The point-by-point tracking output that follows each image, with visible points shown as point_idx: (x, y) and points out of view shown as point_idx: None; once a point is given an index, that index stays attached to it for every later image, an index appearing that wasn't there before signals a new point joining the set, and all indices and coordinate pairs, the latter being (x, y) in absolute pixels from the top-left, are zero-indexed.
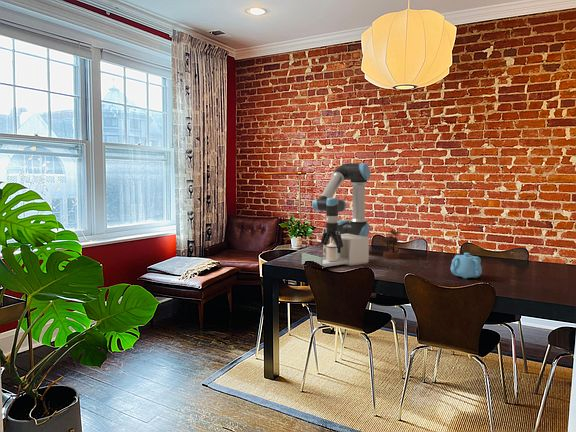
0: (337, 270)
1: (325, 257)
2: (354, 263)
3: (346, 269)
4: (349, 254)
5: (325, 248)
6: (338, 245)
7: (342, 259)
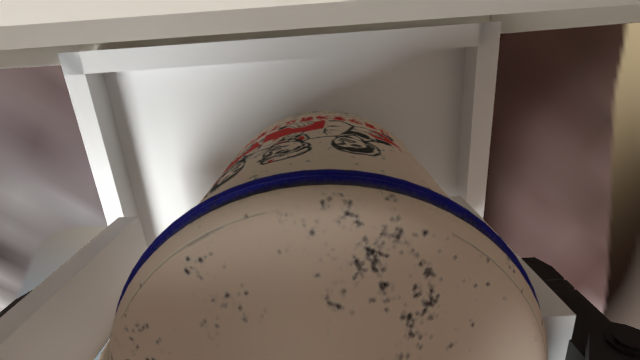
0: None
1: (122, 198)
2: None
3: (602, 205)
4: (595, 25)
5: (81, 331)
6: (522, 357)
7: (360, 53)
